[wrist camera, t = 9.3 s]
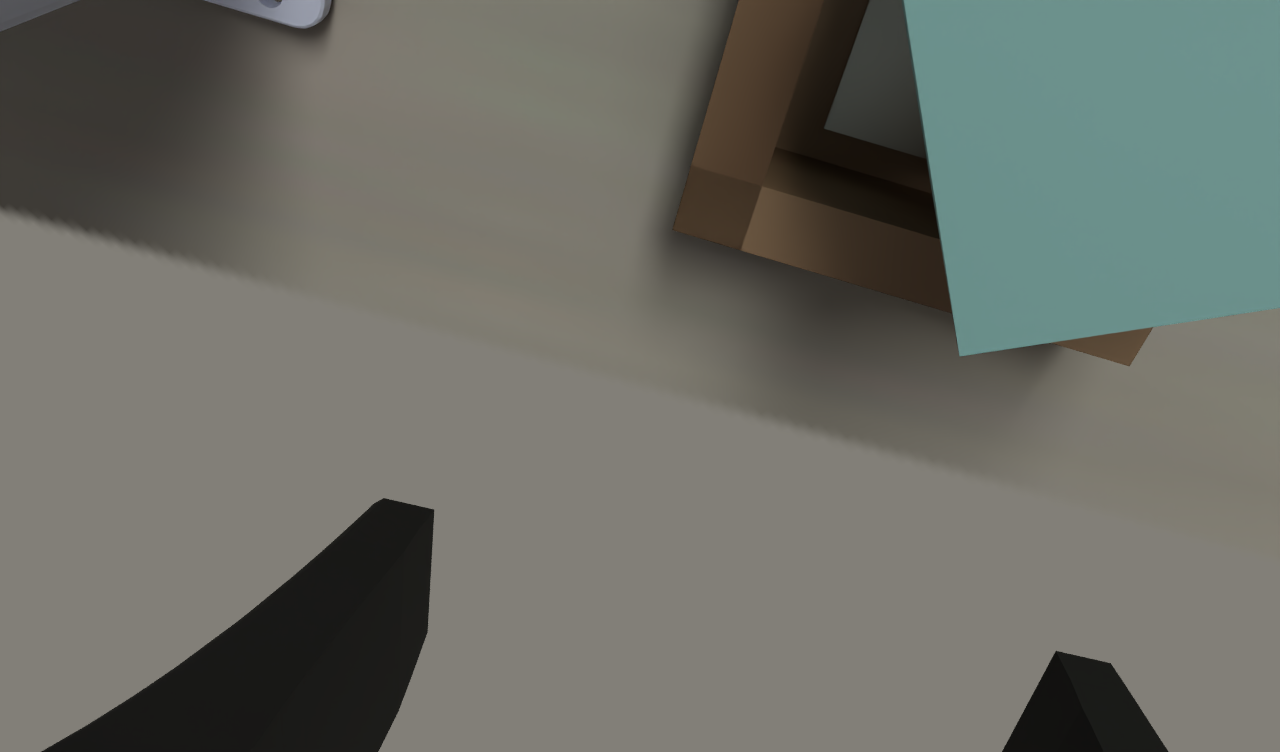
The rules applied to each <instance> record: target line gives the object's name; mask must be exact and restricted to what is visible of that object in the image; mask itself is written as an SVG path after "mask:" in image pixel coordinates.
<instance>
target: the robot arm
mask: <svg viewBox="0 0 1280 752" xmlns="http://www.w3.org/2000/svg"><path fill="white" fill-rule="evenodd" d="M77 1H79V0H0V32H1V31H4V30H6V29H9V28H11V27H14V26H16V25H19V24H21V23H24V22H26V21H29V20H31V19H34V18H36V17H39V16H41V15H44V14H46V13H49V12H51V11H54V10H56V9H59V8H61V7H64V6H66V5H69V4H71V3H74V2H77ZM204 1H207V2H211V3H214V4H218V5H221V6H224V7H228V8H231V9H234V10H238V11H241V12H244V13H248V14H251V15H254V16H258V17H261V18H265V19H268V20H271V21H275V22H278V23H281V24H285V25H288V26H291V27H295V28H304V29H306V28H309V27H312V26H314V25H316V24H318V23H319V22H321V21H322V20H323V19H324V18H325V17H326V16H327V15H328V13H329V9H330V6H331V0H282V2H277V1H275V0H204ZM433 522H434V510H433V509H429V508H425V507H420V506H416V505H411V504H407V503H402V502H398V501H394V500H389V499H385V498H383V499H382V500H380V501H378V502H376V503H374V504H373V505H372V506H371V507H370V508H369V509H368V510H367V511H366V512H365V513H364V514H362V515H361V516H360V517H359V518H358V519H357V520H356V521H355V522H354V523H353V524H352V525H351V526H349V527H348V528H347V529H346V530H345V531H344V532H343V533H342V534H341V535H340V536H339V537H337V538H336V539H335V540H334V541H333V542H332V543H331V544H330V545H329V546H327V547H326V548H325V549H324V550H323V551H322V552H321V553H320V554H318V555H317V556H316V557H315V558H314V559H313V560H311V561H310V562H309V563H308V564H307V565H306V566H305V567H303V569H301V570H300V571H299V572H298V573H296V574H295V575H294V576H293V577H292V578H291V579H290V580H288V581H287V582H286V583H284V584H283V585H282V586H281V587H279V588H278V589H277V590H276V591H275V592H273V593H272V594H271V595H270V596H269V597H267V598H266V599H265V600H264V601H262V602H261V603H260V604H259V605H258V606H256V607H255V608H254V609H253V610H251V611H250V612H249V613H248V614H247V615H245V616H244V617H243V618H241V619H240V620H239V621H238V622H236V623H235V624H234V625H232V626H231V627H230V628H228V629H227V630H226V631H224V632H223V633H221V634H220V635H219V636H217V637H216V638H215V639H213V640H212V641H211V642H209V643H208V644H207V645H205V646H204V647H203V648H201V649H200V650H199V651H197V652H196V653H194V654H193V655H192V656H190V657H189V658H188V659H186V660H185V661H184V662H182V663H181V664H180V665H178V666H177V667H175V668H174V669H173V670H171V671H170V672H168V673H167V674H165V675H164V676H162V677H161V678H159V679H158V680H156V681H155V682H154V683H152V684H151V685H149V686H148V687H147V688H145V689H143V690H142V691H140V692H139V693H137V694H136V695H134V696H133V697H131V698H130V699H128V700H126V701H125V702H123V703H122V704H120V705H118V706H117V707H115V708H114V709H112V710H111V711H109V712H107V713H106V714H104V715H103V716H101V717H100V718H98V719H97V720H95V721H93V722H91V723H90V724H88V725H87V726H85V727H83V728H82V729H80V730H78V731H76V732H75V733H73V734H71V735H69V736H68V737H66V738H64V739H63V740H61V741H59V742H57V743H56V744H54V745H52V746H51V747H49V748H47V749H45V750H44V751H42V752H378V751H379V749H380V747H381V745H382V743H383V741H384V739H385V737H386V735H387V733H388V731H389V729H390V727H391V725H392V723H393V721H394V719H395V717H396V715H397V713H398V711H399V708H400V705H401V703H402V700H403V698H404V695H405V692H406V690H407V687H408V684H409V682H410V679H411V676H412V674H413V671H414V668H415V665H416V663H417V660H418V657H419V654H420V651H421V649H422V645H423V643H424V640H425V638H426V635H427V631H428V630H427V629H428V613H429V594H430V576H431V559H432V558H431V557H432V540H433ZM1002 752H1168V750H1167V749H1166V747H1165V746H1164V745H1163V743H1162V741H1161V740H1160V738H1159V737H1158V735H1157V734H1156V732H1155V730H1154V729H1153V727H1152V726H1151V724H1150V723H1149V721H1148V720H1147V718H1146V716H1145V715H1144V713H1143V712H1142V710H1141V709H1140V707H1139V706H1138V704H1137V703H1136V701H1135V699H1134V698H1133V696H1132V695H1131V693H1130V692H1129V691H1128V689H1127V687H1126V686H1125V684H1124V683H1123V681H1122V680H1121V678H1120V677H1119V675H1118V674H1117V672H1116V671H1115V669H1114V668H1113V666H1112V665H1111V663H1107V662H1102V661H1098V660H1094V659H1089V658H1085V657H1080V656H1076V655H1071V654H1067V653H1063V652H1058V651H1056V652H1055V654H1054V656H1053V657H1052V659H1051V661H1050V663H1049V665H1048V667H1047V669H1046V671H1045V672H1044V674H1043V676H1042V678H1041V680H1040V682H1039V684H1038V686H1037V687H1036V689H1035V691H1034V693H1033V695H1032V697H1031V699H1030V701H1029V702H1028V704H1027V706H1026V708H1025V710H1024V712H1023V714H1022V715H1021V717H1020V719H1019V721H1018V723H1017V725H1016V727H1015V729H1014V730H1013V732H1012V734H1011V736H1010V738H1009V740H1008V742H1007V744H1006V745H1005V747H1004V749H1003V751H1002Z"/></svg>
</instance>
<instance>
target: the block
mask: <svg viewBox="0 0 1280 752" xmlns="http://www.w3.org/2000/svg"><path fill="white" fill-rule="evenodd" d="M902 7H903V13H904V19H905V26H906V32H907V38H908V45H909V51H910V57H911V64H912V70H913V76H914V83H915V89H916V95H917V102H918V108H919V114H920V121H921V127H922V133H923V140H924V146H925V152H926V159H927V165H928V171H929V178H930V184H931V190H932V196H933V202H934V207H935V213H936V219H937V225H938V231H939V237H940V243H941V249H942V255H943V261H944V267H945V273H946V279H947V285H948V291H949V296H950V302H951V308H952V314H953V320H954V326H955V332H956V338H957V344H958V350H959V356H966V355H972V354H979V353H986V352H992V351H999V350H1005V349H1012V348H1019V347H1025V346H1032V345H1038V344H1045V343H1052V342H1058V341H1065V340H1071V339H1078V338H1084V337H1091V336H1098V335H1104V334H1111V333H1117V332H1124V331H1131V330H1137V329H1144V328H1150V327H1157V326H1163V325H1170V324H1177V323H1183V322H1190V321H1196V320H1203V319H1210V318H1216V317H1223V316H1229V315H1236V314H1243V313H1249V312H1256V311H1262V310H1269V309H1275V308H1280V0H902Z"/></svg>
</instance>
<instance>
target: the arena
mask: <svg viewBox="0 0 1280 752" xmlns="http://www.w3.org/2000/svg"><path fill="white" fill-rule="evenodd" d="M672 230H674V231H677V232H681V233H684V234H687V235H691V236H694V237H698V238H701V239H704V240H708V241H711V242H714V243H718V244H721V245H724V246H728V247H731V248H734V249H738V250H741V251H744V252H748V253H751V254H755V255H758V256H761V257H765V258H768V259H771V260H775V261H778V262H781V263H785V264H788V265H791V266H795V267H798V268H801V269H805V270H808V271H812V272H815V273H818V274H822V275H825V276H828V277H832V278H835V279H838V280H842V281H845V282H848V283H852V284H855V285H858V286H862V287H865V288H869V289H872V290H875V291H879V292H882V293H885V294H889V295H892V296H895V297H899V298H902V299H905V300H909V301H912V302H915V303H919V304H922V305H926V306H929V307H932V308H936V309H939V310H942V311H946V312H949V313H952V308H951V302H950V296H949V291H948V285H947V279H946V273H945V267H944V261H943V255H942V249H941V243H940V237H939V231H938V225H937V219H936V213H935V207H934V202H933V196H932V190H931V184H930V178H929V171H928V165H927V159H926V152H925V146H924V140H923V133H922V127H921V121H920V114H919V108H918V102H917V95H916V89H915V83H914V76H913V70H912V64H911V57H910V51H909V45H908V38H907V32H906V26H905V19H904V13H903V7H902V0H739V1H738V5H737V8H736V12H735V15H734V19H733V22H732V25H731V29H730V32H729V36H728V39H727V43H726V46H725V50H724V53H723V57H722V60H721V63H720V67H719V70H718V74H717V77H716V81H715V84H714V88H713V91H712V95H711V98H710V101H709V105H708V108H707V112H706V115H705V119H704V122H703V126H702V129H701V133H700V136H699V139H698V143H697V146H696V150H695V153H694V157H693V160H692V164H691V167H690V171H689V174H688V178H687V181H686V184H685V188H684V191H683V195H682V198H681V202H680V205H679V209H678V212H677V216H676V219H675V222H674V226H673V229H672ZM1152 328H1153V327H1150V328H1144V329H1137V330H1131V331H1124V332H1117V333H1111V334H1104V335H1098V336H1091V337H1084V338H1078V339H1071V340H1065V341H1058V342H1052V343H1053V344H1056V345H1060V346H1063V347H1066V348H1070V349H1073V350H1076V351H1080V352H1083V353H1087V354H1090V355H1093V356H1097V357H1100V358H1103V359H1107V360H1110V361H1113V362H1117V363H1120V364H1123V365H1127V366H1130V364H1131V363H1132V361H1133V360H1134V358H1135V356H1136V355H1137V353H1138V351H1139V350H1140V348H1141V346H1142V345H1143V343H1144V342H1145V340H1146V338H1147V337H1148V335H1149V333H1150V332H1151V330H1152Z"/></svg>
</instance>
